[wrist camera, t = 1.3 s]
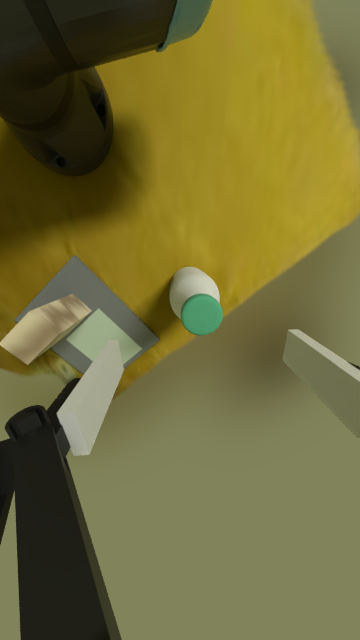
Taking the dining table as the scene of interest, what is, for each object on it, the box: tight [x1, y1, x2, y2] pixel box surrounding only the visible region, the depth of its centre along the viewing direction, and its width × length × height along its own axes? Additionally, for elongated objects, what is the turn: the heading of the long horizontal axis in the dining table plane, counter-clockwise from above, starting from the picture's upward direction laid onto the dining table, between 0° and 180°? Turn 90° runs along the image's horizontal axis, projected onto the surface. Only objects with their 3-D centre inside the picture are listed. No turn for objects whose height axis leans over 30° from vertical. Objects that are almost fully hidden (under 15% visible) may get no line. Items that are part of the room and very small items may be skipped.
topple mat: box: [15, 256, 160, 374], centre depth 41 cm, size 24×20×1 cm
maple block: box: [0, 294, 92, 365], centre depth 33 cm, size 5×8×12 cm, turn 131°
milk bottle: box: [169, 267, 223, 335], centre depth 29 cm, size 8×8×20 cm
